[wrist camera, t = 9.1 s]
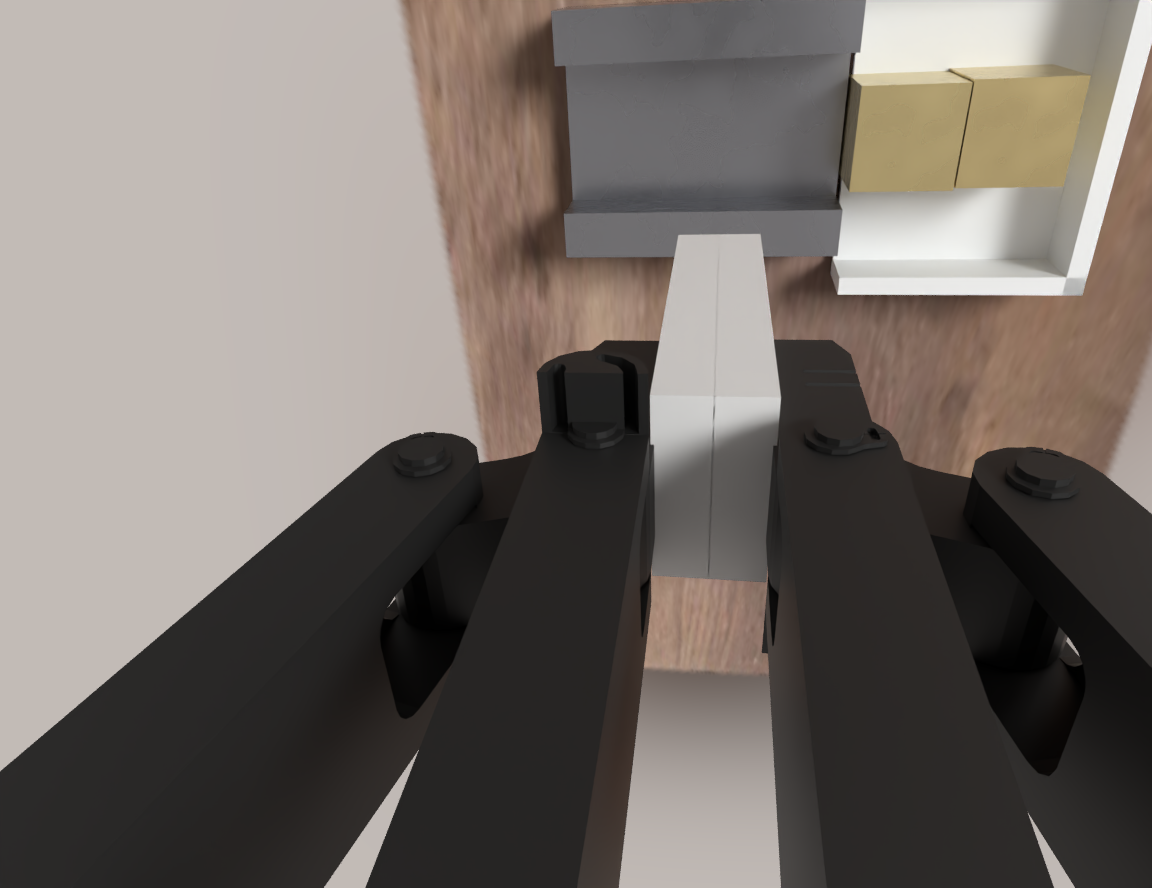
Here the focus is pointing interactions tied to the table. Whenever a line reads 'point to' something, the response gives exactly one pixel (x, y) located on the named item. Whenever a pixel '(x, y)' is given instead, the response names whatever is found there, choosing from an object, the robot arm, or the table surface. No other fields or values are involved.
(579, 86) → the slot rail
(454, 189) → the table surface
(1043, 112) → the khaki cube block
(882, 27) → the white rectangular frame
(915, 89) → the tan cube block
